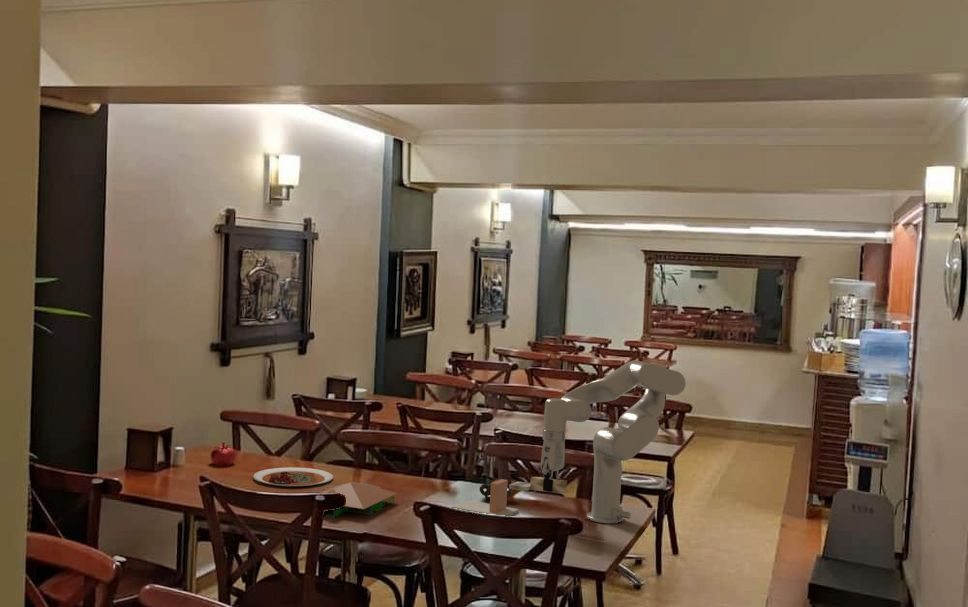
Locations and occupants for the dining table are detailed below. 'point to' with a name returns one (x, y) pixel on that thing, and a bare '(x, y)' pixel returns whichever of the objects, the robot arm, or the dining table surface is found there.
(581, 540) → the dining table surface
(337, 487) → the house
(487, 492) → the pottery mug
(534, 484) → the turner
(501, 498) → the tile
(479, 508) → the board
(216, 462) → the pomegranate
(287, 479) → the plated food
